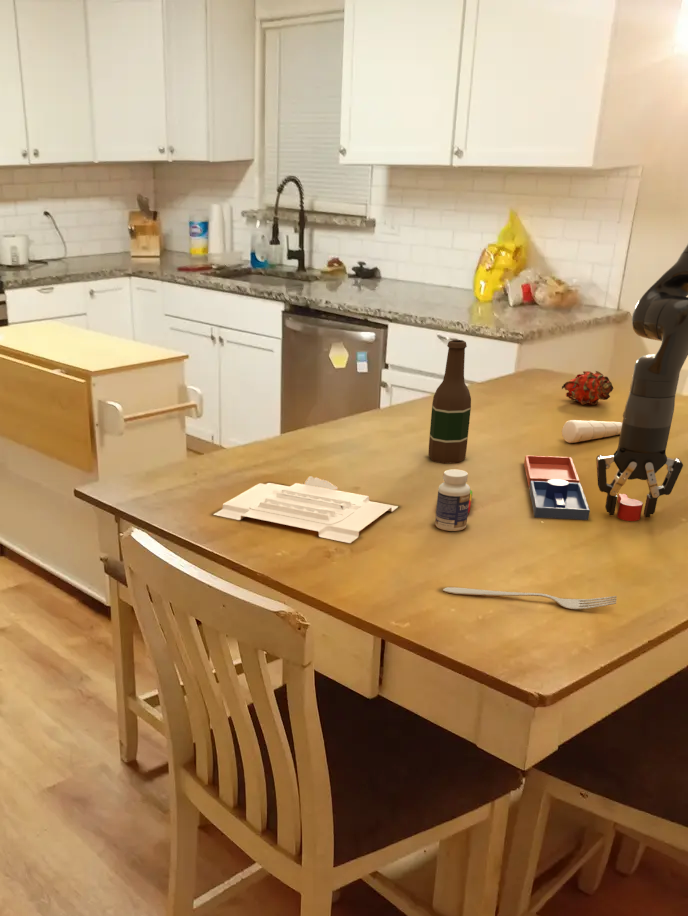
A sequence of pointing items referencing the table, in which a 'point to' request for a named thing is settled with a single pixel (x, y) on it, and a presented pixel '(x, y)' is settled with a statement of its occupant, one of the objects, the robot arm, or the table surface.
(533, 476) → the red tray
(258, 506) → the tray
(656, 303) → the robot arm
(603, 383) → the dragon fruit
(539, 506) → the blue tray
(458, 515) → the pill bottle
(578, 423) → the unicorn horn
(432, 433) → the beer bottle
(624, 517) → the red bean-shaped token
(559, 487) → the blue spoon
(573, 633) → the table surface
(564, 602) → the fork
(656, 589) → the table surface
